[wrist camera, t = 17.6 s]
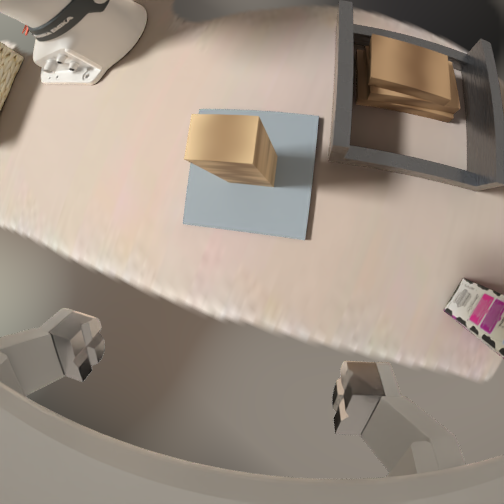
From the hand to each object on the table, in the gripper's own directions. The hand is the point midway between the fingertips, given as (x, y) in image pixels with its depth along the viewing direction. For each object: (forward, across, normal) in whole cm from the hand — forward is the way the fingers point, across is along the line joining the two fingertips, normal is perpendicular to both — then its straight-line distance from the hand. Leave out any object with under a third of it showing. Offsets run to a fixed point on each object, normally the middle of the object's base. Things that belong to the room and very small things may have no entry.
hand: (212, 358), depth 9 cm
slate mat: (+27, +3, -3) cm, 28 cm away
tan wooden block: (+27, +2, -3) cm, 27 cm away
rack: (+29, -15, -14) cm, 35 cm away
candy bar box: (+22, -28, +9) cm, 37 cm away
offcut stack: (+30, -14, -16) cm, 37 cm away
